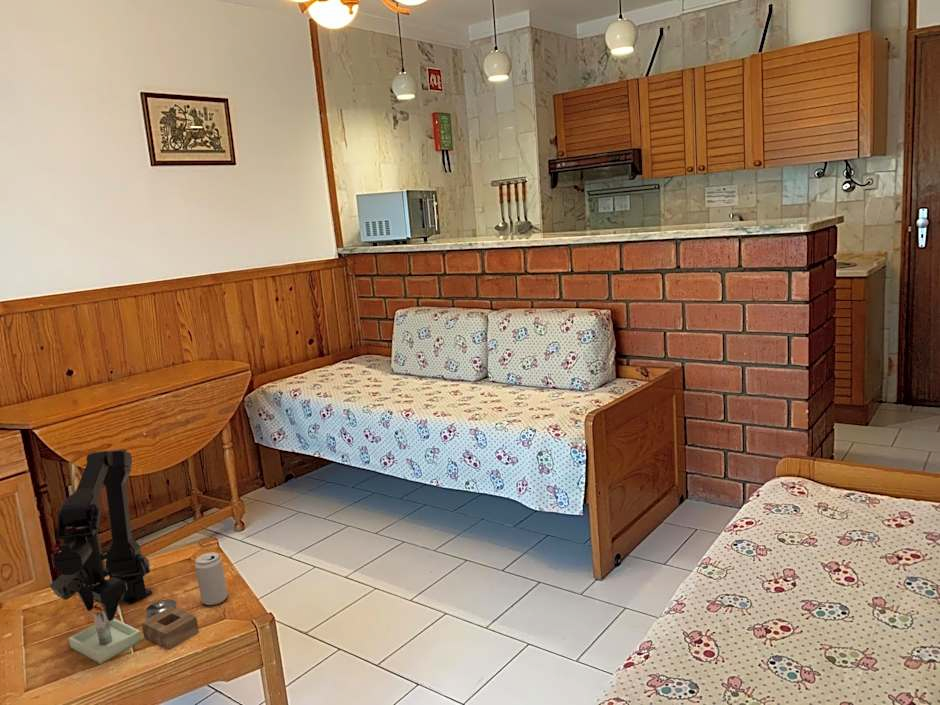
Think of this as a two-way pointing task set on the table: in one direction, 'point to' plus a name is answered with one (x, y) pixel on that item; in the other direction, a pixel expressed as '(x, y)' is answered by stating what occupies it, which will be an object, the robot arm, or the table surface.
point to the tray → (121, 641)
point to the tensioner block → (170, 627)
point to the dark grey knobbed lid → (159, 607)
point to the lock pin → (102, 625)
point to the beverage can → (211, 578)
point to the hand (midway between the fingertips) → (100, 615)
